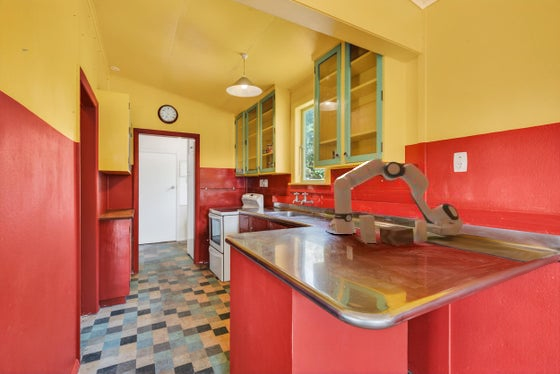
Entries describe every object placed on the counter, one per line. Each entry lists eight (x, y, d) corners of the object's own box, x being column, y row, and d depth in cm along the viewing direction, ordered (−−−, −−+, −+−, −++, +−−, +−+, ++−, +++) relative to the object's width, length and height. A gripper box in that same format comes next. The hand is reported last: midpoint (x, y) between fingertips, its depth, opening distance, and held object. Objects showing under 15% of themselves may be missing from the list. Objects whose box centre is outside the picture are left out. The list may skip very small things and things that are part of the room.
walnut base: (380, 241, 143) (379, 227, 143) (396, 239, 148) (395, 225, 148) (396, 246, 132) (395, 230, 132) (413, 243, 136) (413, 228, 136)
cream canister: (413, 240, 143) (412, 221, 143) (420, 239, 145) (419, 220, 144) (422, 242, 137) (421, 222, 137) (429, 241, 139) (428, 221, 139)
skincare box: (376, 244, 139) (375, 216, 139) (364, 244, 139) (363, 216, 139) (371, 240, 147) (369, 214, 147) (359, 241, 147) (358, 214, 147)
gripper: (425, 220, 157) (409, 222, 152) (459, 224, 138) (441, 226, 133) (426, 230, 157) (409, 232, 152) (459, 235, 138) (441, 238, 133)
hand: (424, 230), depth 142 cm, fingers open, 8 cm apart
